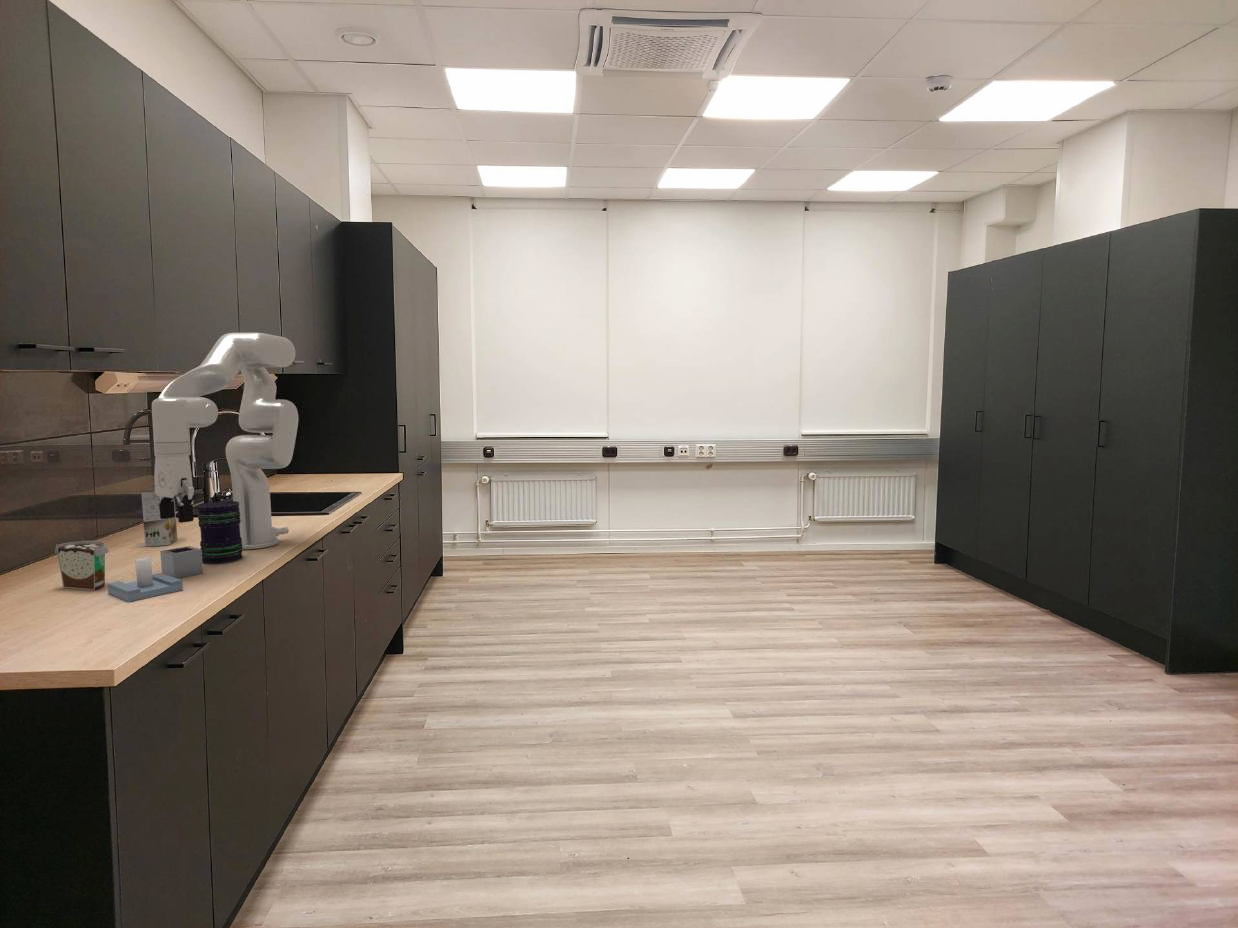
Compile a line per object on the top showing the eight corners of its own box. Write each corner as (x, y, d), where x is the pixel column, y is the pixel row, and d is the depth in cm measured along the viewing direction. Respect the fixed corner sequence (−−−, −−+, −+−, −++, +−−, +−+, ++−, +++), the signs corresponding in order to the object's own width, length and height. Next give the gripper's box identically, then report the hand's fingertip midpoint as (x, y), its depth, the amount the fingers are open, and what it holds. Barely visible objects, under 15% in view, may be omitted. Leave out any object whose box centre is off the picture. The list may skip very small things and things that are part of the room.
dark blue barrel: (211, 566, 192) (207, 508, 190) (194, 560, 198) (190, 504, 196) (250, 558, 200) (246, 503, 198) (232, 553, 206) (228, 499, 204)
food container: (124, 583, 176) (120, 541, 175) (99, 590, 170) (96, 547, 169) (83, 580, 180) (79, 539, 178) (58, 587, 174) (54, 544, 173)
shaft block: (161, 582, 177) (158, 551, 176) (182, 589, 170) (180, 557, 170) (108, 593, 168) (105, 560, 167) (128, 601, 162) (125, 567, 161)
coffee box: (170, 545, 217) (165, 490, 215) (144, 547, 215) (140, 491, 213) (178, 539, 226) (174, 486, 224) (153, 540, 224) (149, 487, 222)
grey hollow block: (190, 569, 189) (188, 545, 188) (203, 573, 185) (201, 549, 184) (162, 574, 184) (160, 550, 183) (174, 579, 180) (172, 554, 179)
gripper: (140, 449, 183) (144, 518, 184) (172, 451, 173) (176, 525, 174) (173, 447, 189) (176, 515, 190) (206, 449, 179) (209, 521, 180)
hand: (176, 520), depth 182 cm, fingers open, 9 cm apart
